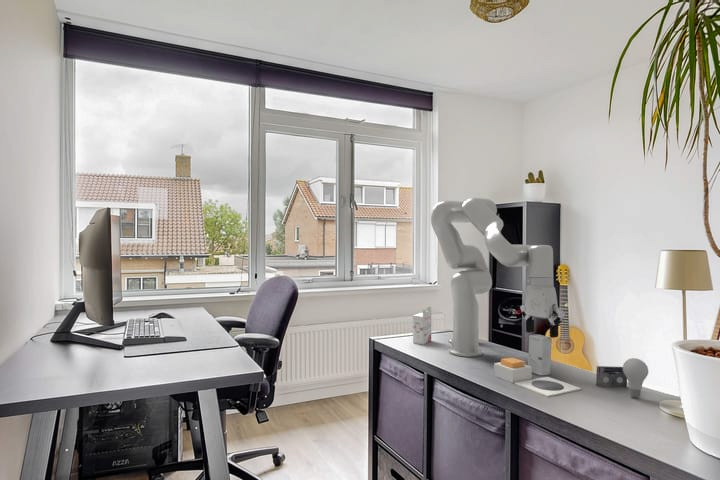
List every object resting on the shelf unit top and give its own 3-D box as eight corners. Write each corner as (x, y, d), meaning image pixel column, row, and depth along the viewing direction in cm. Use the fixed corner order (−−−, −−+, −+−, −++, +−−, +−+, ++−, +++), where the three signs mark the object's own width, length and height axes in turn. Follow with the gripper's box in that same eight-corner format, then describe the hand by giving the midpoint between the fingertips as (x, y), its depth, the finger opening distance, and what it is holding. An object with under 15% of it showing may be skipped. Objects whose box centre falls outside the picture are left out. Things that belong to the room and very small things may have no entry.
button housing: (493, 375, 144) (494, 363, 144) (512, 372, 148) (512, 360, 148) (512, 383, 137) (512, 370, 137) (531, 379, 141) (531, 366, 141)
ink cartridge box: (421, 339, 194) (421, 305, 194) (431, 340, 192) (432, 306, 192) (412, 343, 187) (412, 308, 187) (423, 344, 185) (423, 309, 184)
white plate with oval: (515, 384, 136) (515, 382, 136) (547, 377, 143) (547, 376, 143) (547, 396, 126) (547, 395, 126) (580, 389, 132) (581, 387, 132)
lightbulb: (618, 393, 129) (618, 355, 129) (639, 394, 128) (640, 355, 128) (630, 401, 123) (630, 361, 122) (652, 401, 122) (653, 361, 122)
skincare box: (527, 370, 150) (527, 334, 150) (537, 369, 152) (537, 333, 151) (541, 376, 144) (542, 338, 144) (551, 374, 146) (552, 337, 146)
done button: (500, 368, 144) (500, 359, 144) (512, 366, 146) (512, 357, 146) (512, 372, 139) (512, 363, 139) (524, 370, 141) (524, 361, 141)
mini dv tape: (624, 386, 135) (624, 366, 135) (626, 387, 134) (627, 367, 134) (596, 385, 136) (596, 365, 136) (598, 387, 134) (598, 367, 134)
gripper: (512, 281, 153) (513, 331, 153) (555, 285, 138) (555, 340, 138) (528, 280, 157) (529, 329, 157) (571, 283, 141) (572, 338, 141)
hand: (541, 334), depth 147 cm, fingers open, 9 cm apart
